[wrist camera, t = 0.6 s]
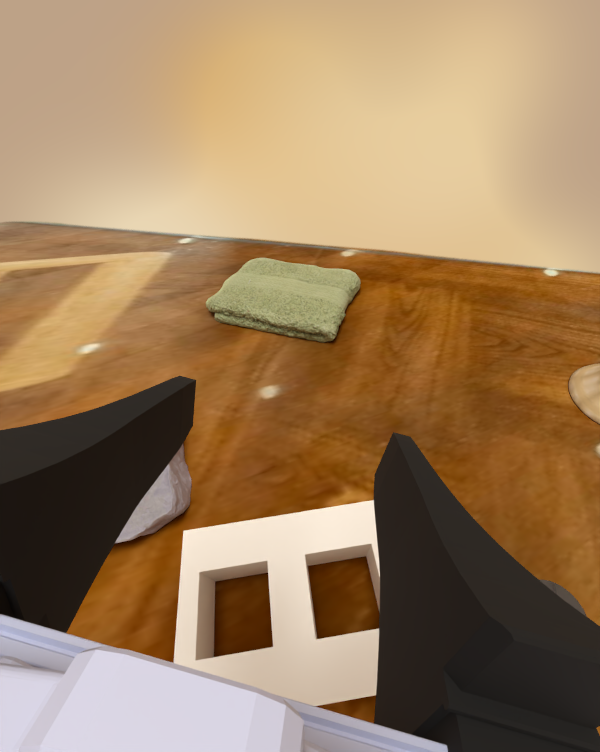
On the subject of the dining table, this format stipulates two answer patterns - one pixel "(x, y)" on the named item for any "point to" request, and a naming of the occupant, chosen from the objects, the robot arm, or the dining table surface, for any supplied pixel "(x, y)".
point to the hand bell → (587, 390)
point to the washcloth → (286, 298)
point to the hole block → (281, 602)
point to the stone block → (161, 500)
